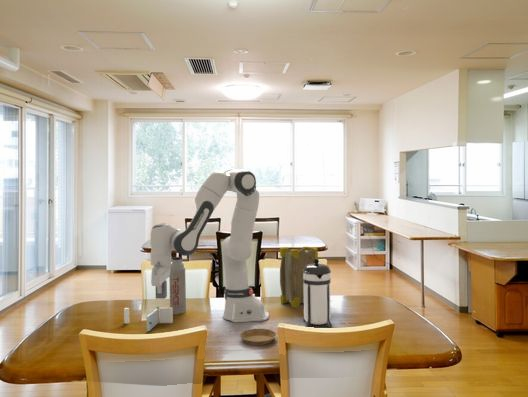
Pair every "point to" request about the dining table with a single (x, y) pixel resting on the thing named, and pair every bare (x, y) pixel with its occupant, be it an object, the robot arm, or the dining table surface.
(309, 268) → the coffee press
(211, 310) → the dining table surface
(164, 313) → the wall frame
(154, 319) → the door
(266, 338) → the plant saucer
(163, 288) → the block
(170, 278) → the thermos bottle
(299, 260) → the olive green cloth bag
